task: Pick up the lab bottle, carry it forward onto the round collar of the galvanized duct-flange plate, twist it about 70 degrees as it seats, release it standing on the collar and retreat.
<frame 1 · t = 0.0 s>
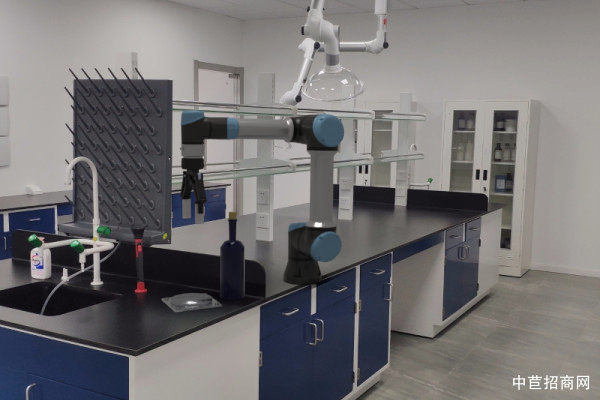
hand: (192, 221, 210), 28 cm above the counter, fingers open, 13 cm apart
flange plate: (191, 303, 212), on the counter
bottle: (232, 296, 222), on the counter
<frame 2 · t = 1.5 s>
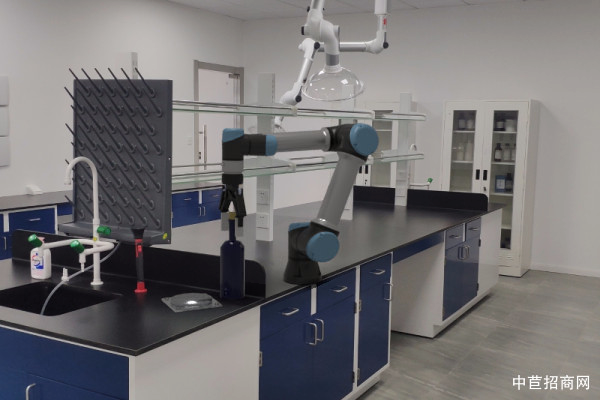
hand: (231, 233, 220), 22 cm above the counter, fingers open, 13 cm apart
nothing on the counter moved.
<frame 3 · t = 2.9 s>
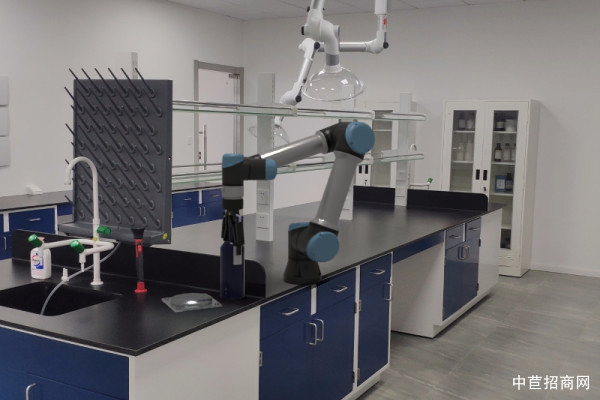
hand: (232, 261, 221), 12 cm above the counter, fingers closed on bottle, 9 cm apart
bottle: (232, 296, 222), on the counter, touching gripper
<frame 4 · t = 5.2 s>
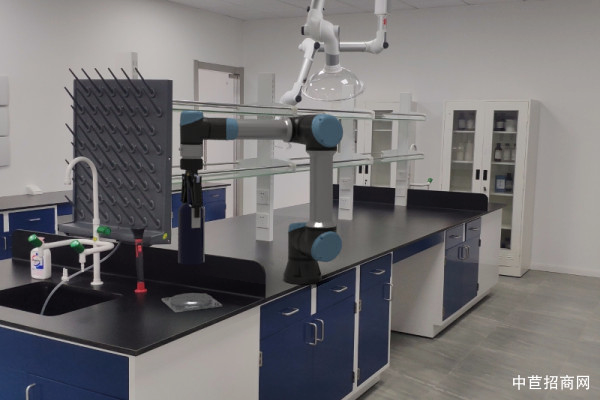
hand: (191, 225, 210), 27 cm above the counter, fingers closed on bottle, 9 cm apart
bottle: (191, 262, 211), point 14 cm above the counter, touching gripper
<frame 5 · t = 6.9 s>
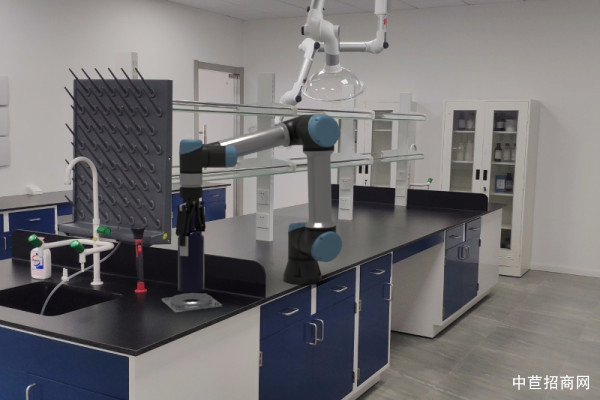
hand: (191, 253, 210), 17 cm above the counter, fingers closed on bottle, 9 cm apart
bottle: (191, 289, 212), point 5 cm above the counter, touching gripper
when the fingers open (15 cm above the counter, at t = 7.9 s): bottle drops 1 cm, resting on flange plate.
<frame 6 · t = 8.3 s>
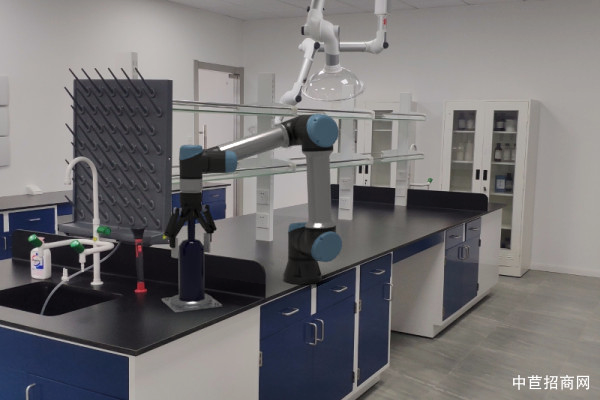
hand: (191, 254, 210), 17 cm above the counter, fingers open, 13 cm apart
bottle: (191, 298, 212), point 2 cm above the counter, touching flange plate
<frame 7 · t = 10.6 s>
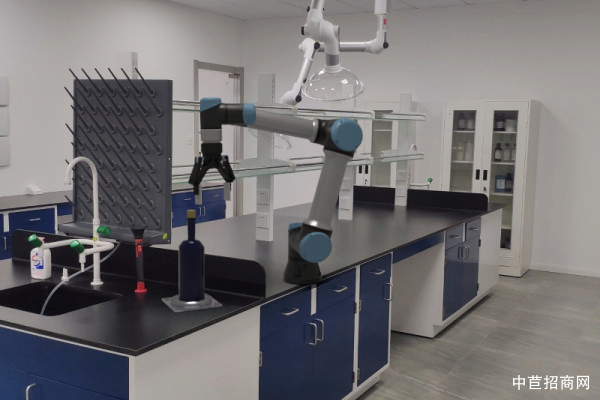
hand: (213, 202, 222), 33 cm above the counter, fingers open, 13 cm apart
nothing on the counter moved.
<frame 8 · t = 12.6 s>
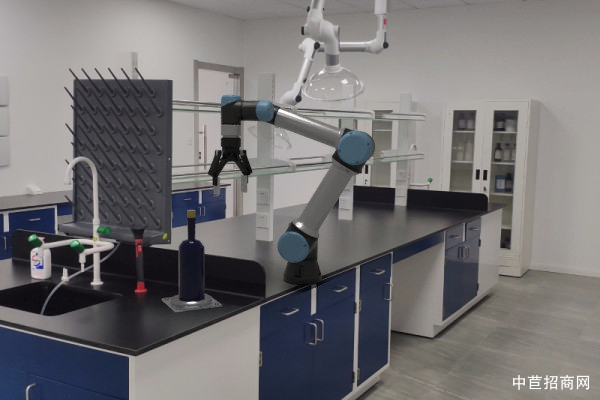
hand: (230, 193, 236), 35 cm above the counter, fingers open, 13 cm apart
nothing on the counter moved.
at the end: bottle inside the target area on the flange plate (0.1 cm from its centre), point 1.5 cm above the flange plate's base; bottle tilted 0°; the gripper is holding nothing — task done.
